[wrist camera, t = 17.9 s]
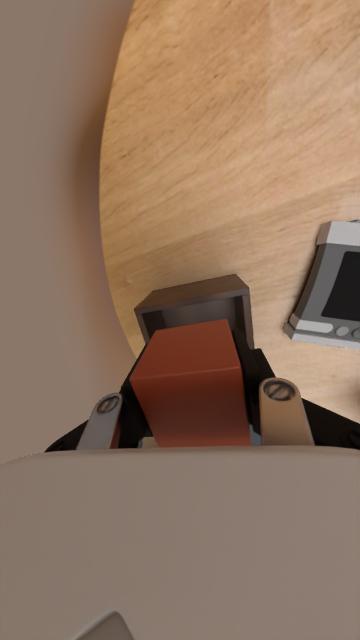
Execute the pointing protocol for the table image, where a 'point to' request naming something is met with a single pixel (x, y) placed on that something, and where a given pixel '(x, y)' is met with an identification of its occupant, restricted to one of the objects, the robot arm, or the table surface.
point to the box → (197, 306)
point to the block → (193, 387)
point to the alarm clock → (331, 291)
